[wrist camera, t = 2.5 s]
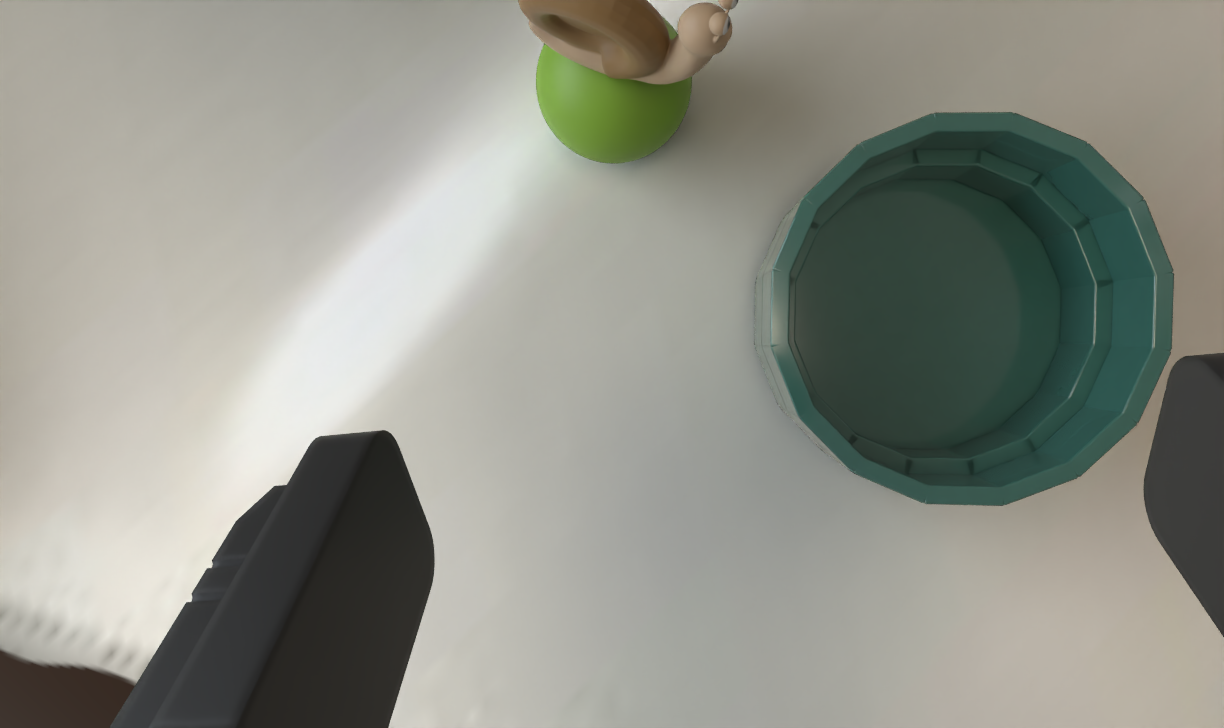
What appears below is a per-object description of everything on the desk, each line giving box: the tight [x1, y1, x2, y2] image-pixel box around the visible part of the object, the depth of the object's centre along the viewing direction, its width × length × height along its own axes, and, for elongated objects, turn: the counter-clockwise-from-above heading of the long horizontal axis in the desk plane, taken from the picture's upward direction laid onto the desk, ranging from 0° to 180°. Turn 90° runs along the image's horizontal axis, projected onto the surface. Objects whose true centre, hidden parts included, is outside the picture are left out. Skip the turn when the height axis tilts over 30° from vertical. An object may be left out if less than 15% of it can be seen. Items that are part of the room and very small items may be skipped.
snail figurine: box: [518, 0, 738, 163], centre depth 26 cm, size 5×6×12 cm
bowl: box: [754, 112, 1174, 506], centre depth 29 cm, size 12×12×6 cm
